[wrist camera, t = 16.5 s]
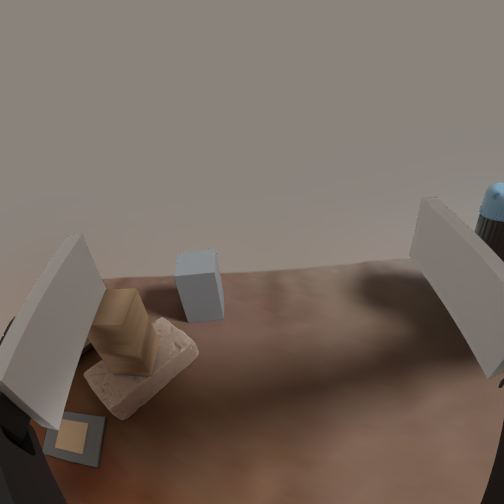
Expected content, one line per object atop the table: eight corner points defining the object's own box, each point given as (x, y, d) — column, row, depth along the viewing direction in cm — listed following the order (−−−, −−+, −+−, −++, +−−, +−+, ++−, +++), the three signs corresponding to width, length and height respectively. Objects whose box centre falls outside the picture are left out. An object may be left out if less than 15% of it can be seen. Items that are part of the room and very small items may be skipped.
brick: (168, 330, 47) (160, 311, 45) (203, 355, 43) (196, 336, 40) (94, 390, 37) (79, 373, 34) (123, 425, 33) (108, 411, 30)
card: (106, 418, 33) (104, 416, 32) (98, 467, 26) (96, 466, 26) (53, 410, 33) (51, 408, 32) (43, 454, 26) (40, 452, 26)
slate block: (223, 295, 53) (215, 248, 47) (224, 319, 48) (214, 272, 42) (190, 298, 53) (178, 252, 47) (188, 322, 48) (173, 276, 42)
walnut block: (159, 341, 40) (136, 288, 34) (151, 376, 35) (122, 325, 29) (123, 340, 40) (96, 289, 34) (112, 373, 35) (79, 324, 29)
